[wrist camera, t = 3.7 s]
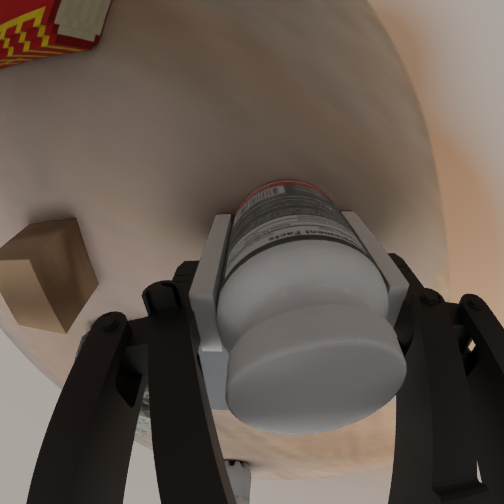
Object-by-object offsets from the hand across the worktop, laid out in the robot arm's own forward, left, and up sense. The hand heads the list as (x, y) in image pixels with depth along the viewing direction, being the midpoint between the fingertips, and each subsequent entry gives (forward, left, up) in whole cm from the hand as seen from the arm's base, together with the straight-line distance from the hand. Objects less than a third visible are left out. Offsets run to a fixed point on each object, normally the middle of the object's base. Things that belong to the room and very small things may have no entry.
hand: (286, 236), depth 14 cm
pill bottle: (0, 0, 0) cm, 1 cm away
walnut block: (+1, -15, 0) cm, 15 cm away
